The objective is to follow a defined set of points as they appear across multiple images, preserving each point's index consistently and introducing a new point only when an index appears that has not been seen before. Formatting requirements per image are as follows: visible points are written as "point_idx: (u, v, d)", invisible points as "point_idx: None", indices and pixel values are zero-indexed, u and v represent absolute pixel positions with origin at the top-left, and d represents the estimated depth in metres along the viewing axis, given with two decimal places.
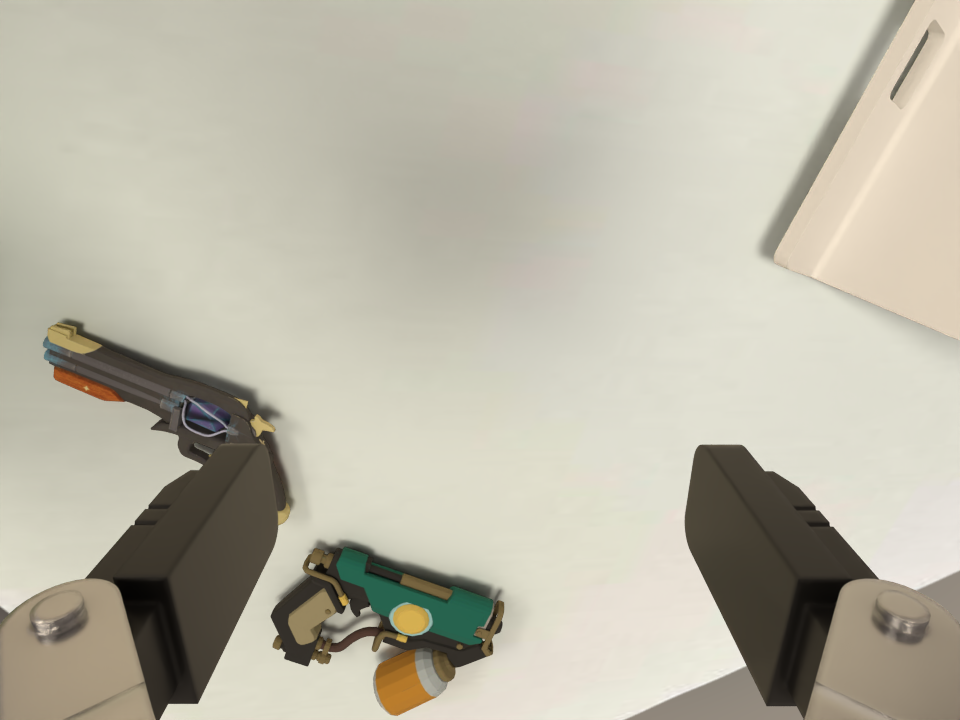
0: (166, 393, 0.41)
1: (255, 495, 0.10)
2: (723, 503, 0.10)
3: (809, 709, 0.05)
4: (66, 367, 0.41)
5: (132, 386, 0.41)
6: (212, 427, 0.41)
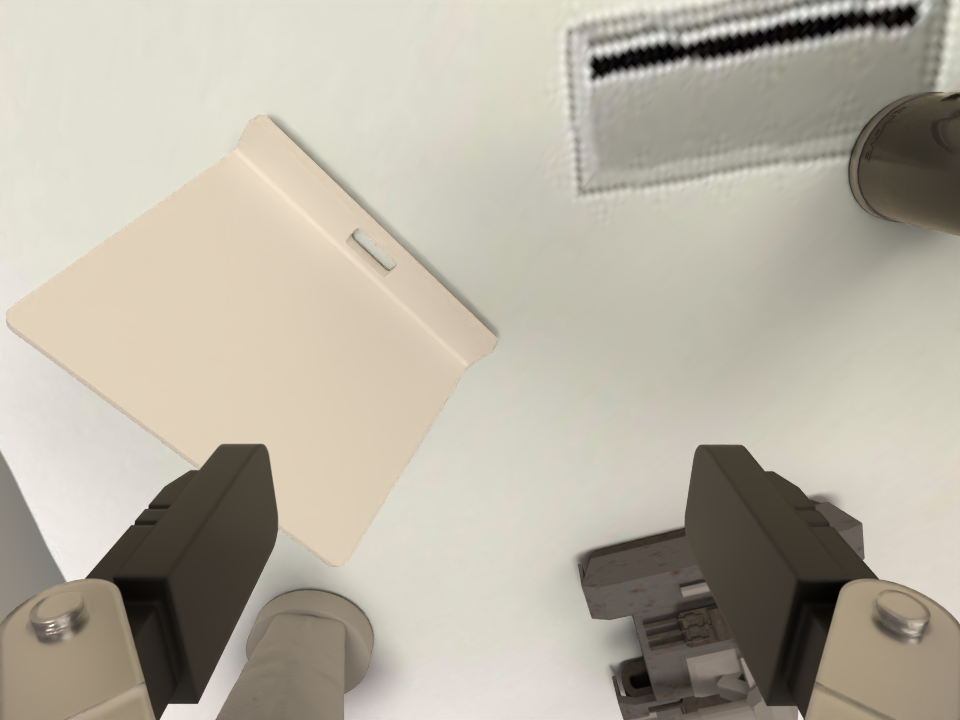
0: None
1: (255, 496, 0.10)
2: (723, 503, 0.10)
3: (809, 709, 0.05)
4: None
5: None
6: None
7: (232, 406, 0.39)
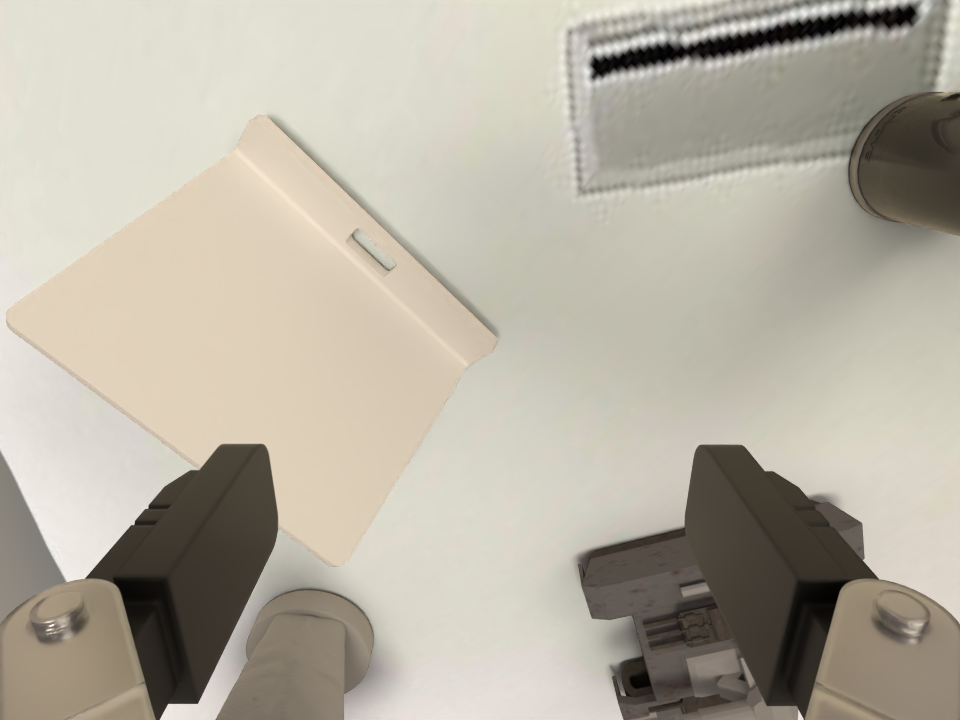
0: None
1: (255, 496, 0.10)
2: (723, 503, 0.10)
3: (809, 709, 0.05)
4: None
5: None
6: None
7: (232, 406, 0.39)
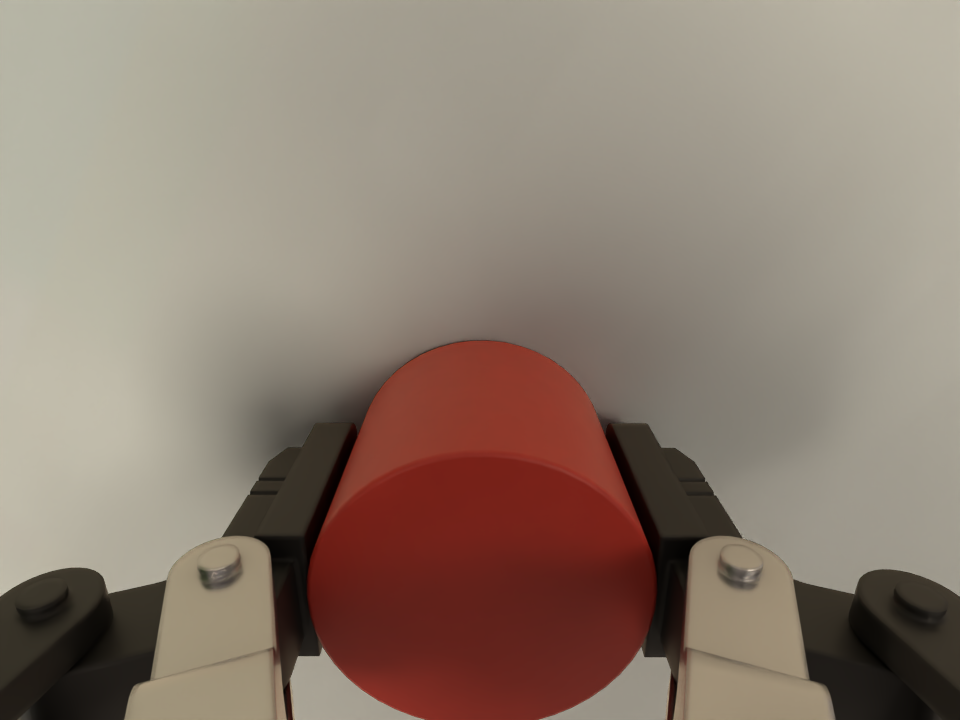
0: None
1: None
2: (622, 476, 0.10)
3: (686, 677, 0.05)
4: None
5: None
6: None
7: None
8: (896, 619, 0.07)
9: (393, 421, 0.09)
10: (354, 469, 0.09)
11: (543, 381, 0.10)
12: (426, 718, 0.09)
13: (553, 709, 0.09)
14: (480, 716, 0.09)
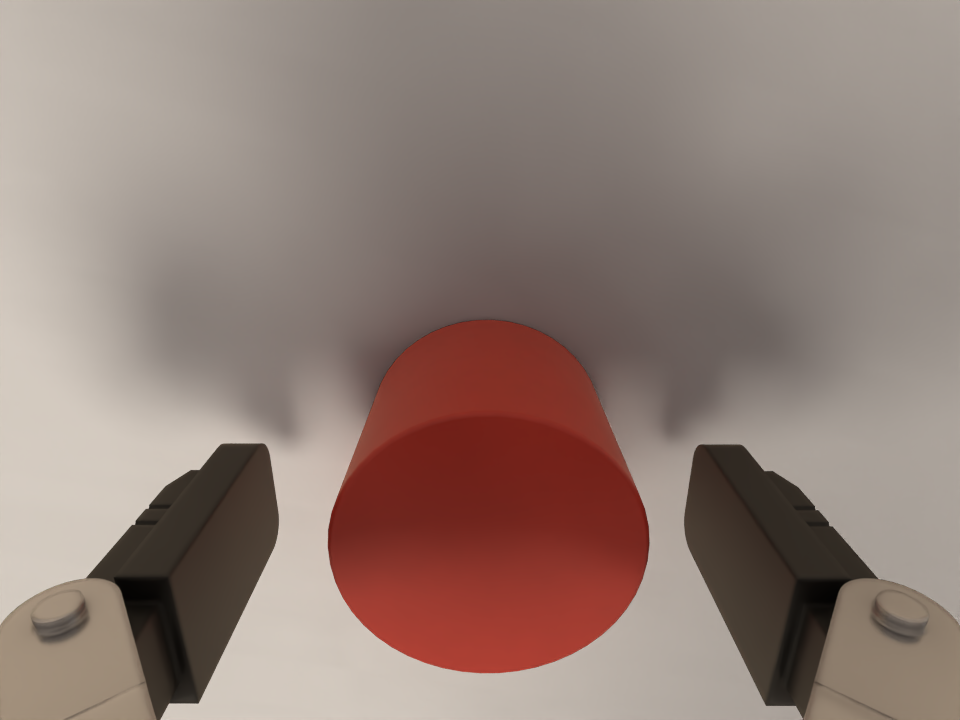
0: None
1: (255, 496, 0.10)
2: (723, 503, 0.10)
3: (808, 709, 0.05)
4: None
5: None
6: None
7: None
8: None
9: (407, 390, 0.10)
10: (371, 432, 0.10)
11: (545, 355, 0.11)
12: (436, 664, 0.10)
13: (554, 656, 0.10)
14: (486, 662, 0.10)
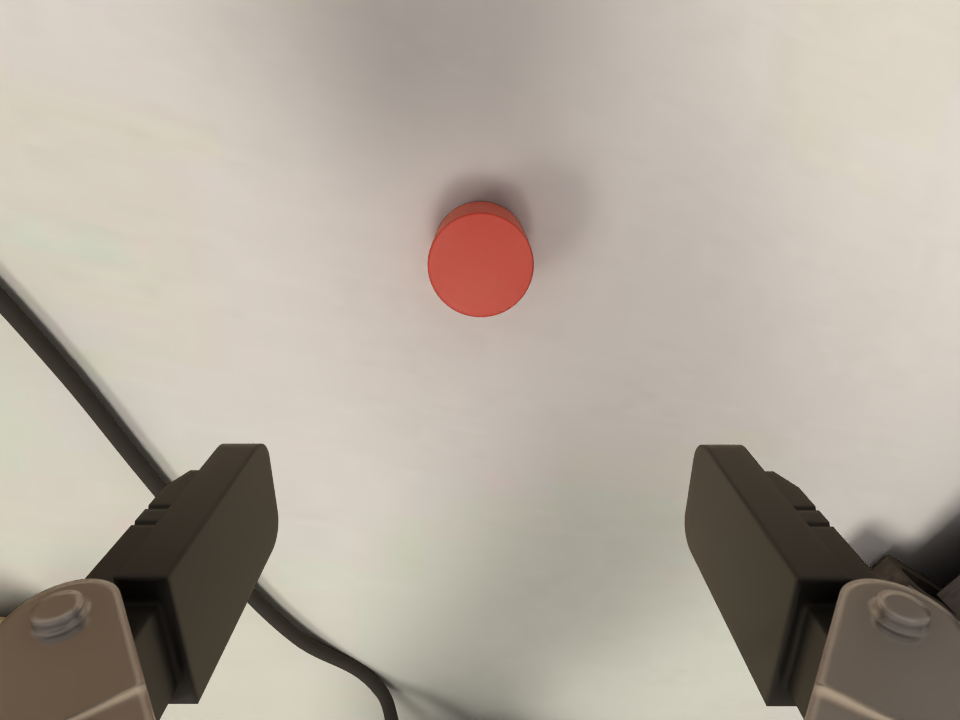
0: None
1: (255, 496, 0.10)
2: (724, 503, 0.10)
3: (809, 709, 0.05)
4: None
5: None
6: None
7: None
8: None
9: (452, 216, 0.29)
10: (441, 227, 0.28)
11: (501, 209, 0.30)
12: (462, 312, 0.29)
13: (503, 308, 0.29)
14: (480, 311, 0.29)
